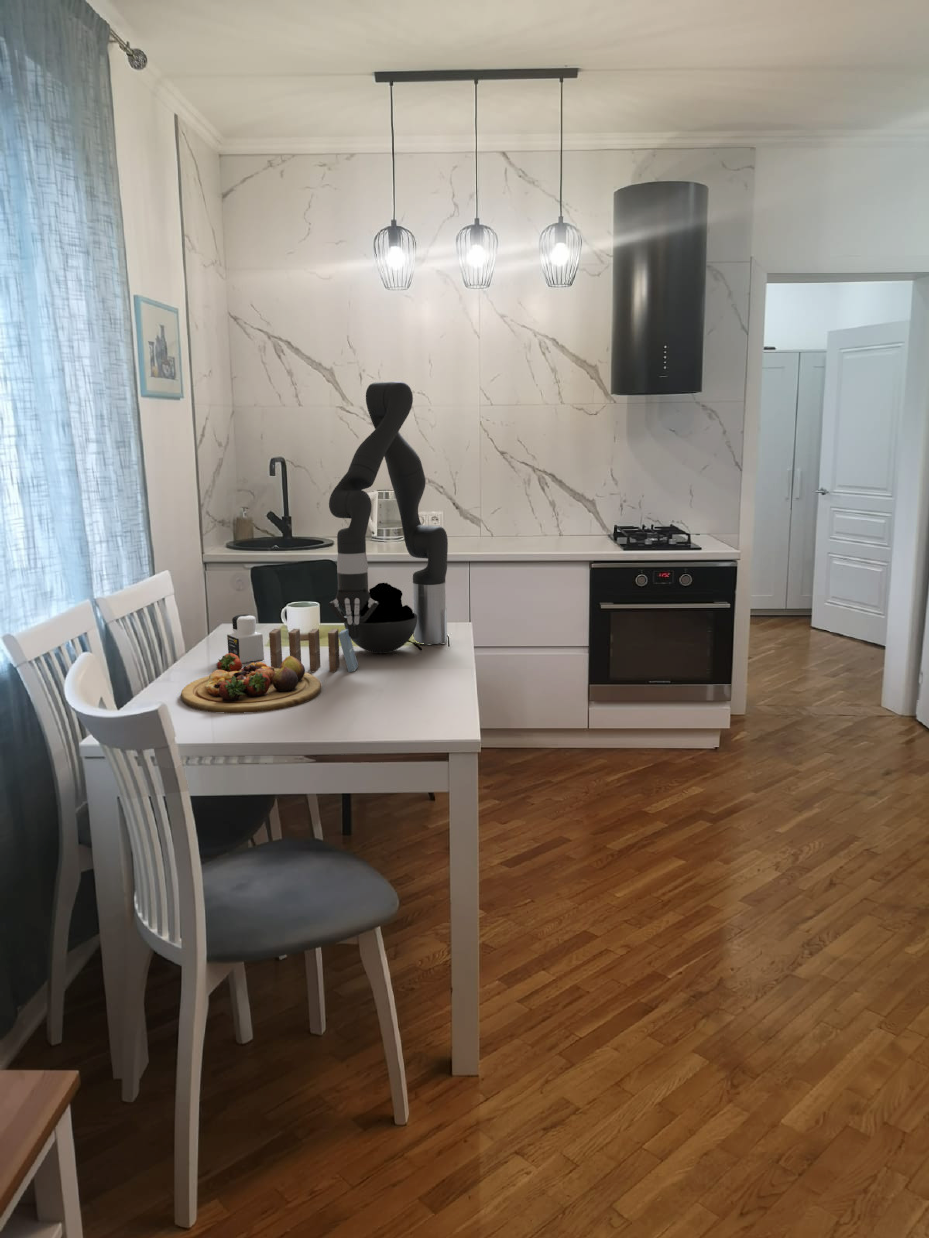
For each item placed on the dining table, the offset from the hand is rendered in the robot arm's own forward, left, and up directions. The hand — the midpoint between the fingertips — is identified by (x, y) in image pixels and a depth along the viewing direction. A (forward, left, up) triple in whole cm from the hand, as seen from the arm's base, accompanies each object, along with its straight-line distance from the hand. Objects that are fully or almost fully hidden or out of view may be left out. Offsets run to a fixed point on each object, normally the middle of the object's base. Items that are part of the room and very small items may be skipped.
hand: (354, 638), depth 243 cm
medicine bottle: (+31, -10, -8) cm, 34 cm away
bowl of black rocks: (-4, -19, -8) cm, 21 cm away
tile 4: (+15, 0, -8) cm, 17 cm away
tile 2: (+5, 0, -8) cm, 10 cm away
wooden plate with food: (+20, +23, -9) cm, 32 cm away
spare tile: (+1, 0, -8) cm, 8 cm away
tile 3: (+10, 0, -8) cm, 13 cm away
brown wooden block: (+20, 0, -8) cm, 22 cm away
